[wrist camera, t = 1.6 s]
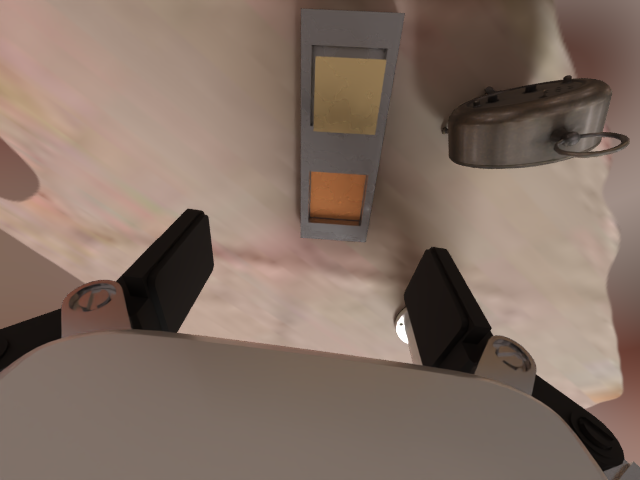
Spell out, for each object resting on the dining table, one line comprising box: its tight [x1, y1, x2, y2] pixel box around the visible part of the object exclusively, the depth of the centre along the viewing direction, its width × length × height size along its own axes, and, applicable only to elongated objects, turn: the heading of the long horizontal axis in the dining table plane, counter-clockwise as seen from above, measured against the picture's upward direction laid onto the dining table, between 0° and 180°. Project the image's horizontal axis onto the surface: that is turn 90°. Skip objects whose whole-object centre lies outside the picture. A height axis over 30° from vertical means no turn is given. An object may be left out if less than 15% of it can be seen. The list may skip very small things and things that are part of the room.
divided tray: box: [301, 9, 405, 242], centre depth 30 cm, size 9×24×2 cm, turn 178°
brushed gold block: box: [313, 56, 386, 135], centre depth 23 cm, size 5×5×9 cm
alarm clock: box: [442, 75, 630, 169], centre depth 22 cm, size 11×5×16 cm, turn 105°
